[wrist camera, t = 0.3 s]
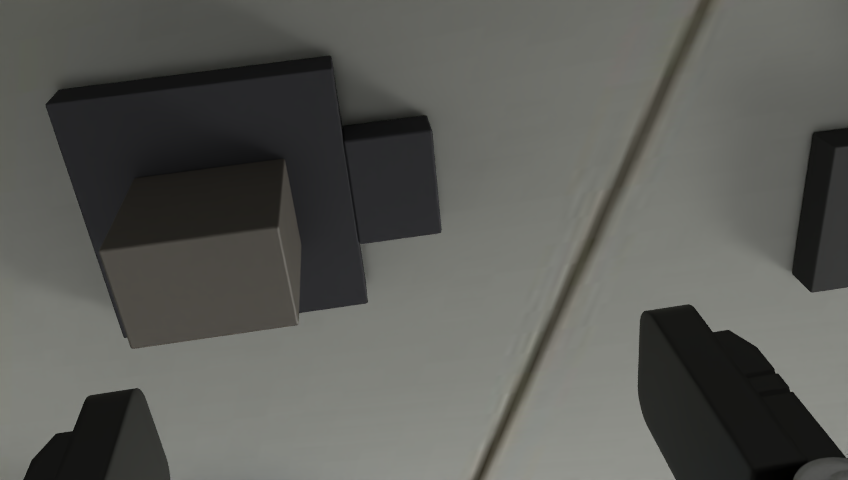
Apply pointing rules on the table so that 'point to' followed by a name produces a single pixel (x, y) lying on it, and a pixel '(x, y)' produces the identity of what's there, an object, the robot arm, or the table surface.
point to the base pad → (824, 215)
